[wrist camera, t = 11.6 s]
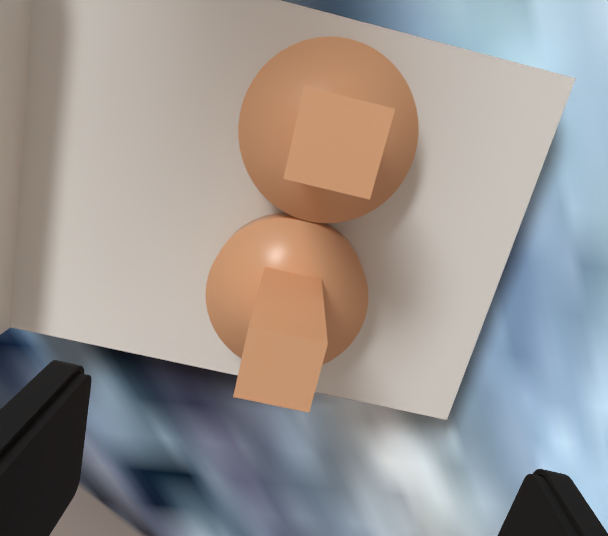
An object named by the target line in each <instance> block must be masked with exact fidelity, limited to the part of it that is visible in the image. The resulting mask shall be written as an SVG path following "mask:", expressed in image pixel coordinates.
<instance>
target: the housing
mask: <svg viewBox="0 0 608 536" xmlns="http://www.w3.org/2000/svg"><path fill="white" fill-rule="evenodd" d="M575 79H576V78H572V77H568V76H565V75H561V74H557V73H553V72H550V71H546V70H542V69H538V68H535V67H531V66H527V65H523V64H519V63H516V62H512V61H508V60H504V59H501V58H497V57H493V56H489V55H485V54H482V53H478V52H474V51H470V50H467V49H463V48H459V47H455V46H452V45H448V44H444V43H440V42H436V41H433V40H429V39H425V38H421V37H418V36H414V35H410V34H406V33H402V32H399V31H395V30H391V29H387V28H384V27H380V26H376V25H372V24H368V23H365V22H361V21H357V20H353V19H350V18H346V17H342V16H338V15H335V14H331V13H327V12H323V11H319V10H316V9H312V8H308V7H304V6H301V5H297V4H293V3H289V2H285V1H282V0H0V334H2V333H3V332H5V331H6V330H7V329H9V328H10V327H12V328H17V329H22V330H26V331H31V332H36V333H40V334H45V335H50V336H55V337H59V338H64V339H69V340H73V341H78V342H83V343H87V344H92V345H97V346H102V347H106V348H111V349H116V350H120V351H125V352H130V353H134V354H139V355H144V356H149V357H153V358H158V359H163V360H167V361H172V362H177V363H181V364H186V365H191V366H196V367H200V368H205V369H210V370H214V371H219V372H224V373H228V374H233V375H238V373H239V368H240V364H241V358H240V357H238V356H237V355H236V354H234V353H233V352H232V351H231V350H230V349H229V348H228V347H227V346H226V345H225V344H224V343H223V342H222V341H221V339H220V338H219V336H218V335H217V333H216V332H215V330H214V328H213V326H212V324H211V322H210V318H209V315H208V312H207V306H206V283H207V279H208V275H209V271H210V269H211V267H212V264H213V262H214V260H215V259H216V257H217V255H218V254H219V252H220V250H221V249H222V247H223V246H224V244H225V243H226V242H227V240H228V239H229V238H230V237H231V236H232V235H233V234H234V233H235V232H236V231H237V230H238V229H240V228H241V227H242V226H244V225H245V224H247V223H249V222H251V221H253V220H254V219H257V218H260V217H262V216H265V215H270V214H274V213H284V212H285V213H287V214H289V215H291V216H294V217H296V218H299V219H302V220H305V221H310V222H316V223H328V224H330V225H331V226H333V227H334V228H335V229H337V230H338V231H339V232H340V233H342V234H343V236H344V237H345V238H346V239H347V240H348V241H349V242H350V244H351V245H352V247H353V248H354V250H355V252H356V253H357V255H358V257H359V260H360V263H361V265H362V268H363V271H364V274H365V277H366V281H367V286H368V308H367V313H366V317H365V320H364V323H363V325H362V327H361V329H360V331H359V333H358V335H357V336H356V338H355V339H354V341H353V342H352V343H351V344H350V345H349V346H348V348H347V349H346V350H345V351H343V352H342V353H341V354H340V355H339V356H337V357H336V358H334V359H333V360H331V361H329V362H328V363H325V364H323V365H322V367H321V371H320V375H319V378H318V382H317V386H316V389H315V392H318V393H323V394H327V395H332V396H337V397H341V398H346V399H351V400H355V401H360V402H365V403H370V404H374V405H379V406H384V407H388V408H393V409H398V410H402V411H407V412H412V413H417V414H421V415H426V416H431V417H435V418H440V419H445V420H447V418H448V416H449V413H450V410H451V408H452V405H453V402H454V400H455V397H456V394H457V392H458V389H459V386H460V384H461V381H462V378H463V376H464V373H465V370H466V368H467V365H468V363H469V360H470V357H471V355H472V352H473V349H474V347H475V344H476V341H477V339H478V336H479V333H480V331H481V328H482V325H483V323H484V320H485V317H486V315H487V312H488V309H489V307H490V304H491V302H492V299H493V296H494V294H495V291H496V288H497V286H498V283H499V280H500V278H501V275H502V272H503V270H504V267H505V264H506V262H507V259H508V256H509V254H510V251H511V248H512V246H513V243H514V241H515V238H516V235H517V233H518V230H519V227H520V225H521V222H522V219H523V217H524V214H525V211H526V209H527V206H528V203H529V201H530V198H531V195H532V193H533V190H534V187H535V185H536V182H537V180H538V177H539V174H540V172H541V169H542V166H543V164H544V161H545V158H546V156H547V153H548V150H549V148H550V145H551V142H552V140H553V137H554V134H555V132H556V129H557V126H558V124H559V121H560V119H561V116H562V113H563V111H564V108H565V105H566V103H567V100H568V97H569V95H570V92H571V89H572V87H573V84H574V81H575Z"/></svg>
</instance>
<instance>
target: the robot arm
mask: <svg viewBox="0 0 608 536" xmlns="http://www.w3.org/2000/svg"><path fill="white" fill-rule="evenodd" d="M90 388H91V376H90V375H86V374H84V368H83V367H82V366H79V365H75V364H70V363H66V362H62V361H57V360H54V361H52V362H50V363H49V364H48V365H47V366H46V367H45V368H44V369H43V370H42V371H41V372H40V373H39V374H38V375H37V376H36V377H35V378H33V379H32V380H31V381H30V382H29V383H28V384H27V385H26V386H25V387H24V388H23V389H22V390H21V391H20V392H19V393H18V394H17V395H16V396H14V397H13V398H12V399H11V400H10V401H9V402H8V403H7V404H6V405H5V406H4V407H3V408H2V409H1V410H0V536H49V535H50V533H51V532H52V530H53V529H54V527H55V525H56V524H57V522H58V521H59V519H60V518H61V516H62V514H63V513H64V511H65V510H66V508H67V506H68V505H69V503H70V502H71V500H72V498H73V497H74V495H75V493H76V490H77V488H78V485H79V481H80V474H81V466H82V457H83V448H84V440H85V431H86V423H87V414H88V405H89V397H90ZM498 536H608V533H607V532H606V530H605V529H604V527H603V526H602V524H601V523H600V521H599V520H598V518H597V517H596V515H595V514H594V512H593V511H592V509H591V508H590V506H589V505H588V503H587V502H586V500H585V499H584V497H583V496H582V494H581V493H580V491H579V490H578V488H577V487H576V486H575V484H574V483H573V481H572V480H571V478H570V477H569V476H567V475H565V474H561V473H556V472H552V471H547V470H543V469H537V470H536V471H535V472H534V473H533V474H528V475H527V476H526V477H525V479H524V480H523V483H522V485H521V487H520V489H519V491H518V493H517V495H516V498H515V500H514V502H513V504H512V506H511V508H510V510H509V513H508V515H507V517H506V519H505V521H504V523H503V525H502V527H501V530H500V532H499V534H498Z"/></svg>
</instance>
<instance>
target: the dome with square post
mask: <svg viewBox="0 0 608 536" xmlns="http://www.w3.org/2000/svg"><path fill="white" fill-rule="evenodd" d="M206 306H207V312H208V315H209V318H210V322H211V324H212V326H213V328H214V330H215V332H216V333H217V335H218V336H219V338H220V339H221V341H222V342H223V343H224V344H225V345H226V346H227V347H228V348H229V349H230V350H231V351H232V352H233V353H234V354H236V355H237V356H238V357H240V358H241V364H240V368H239V373H238V377H237V382H236V387H235V391H234V396H233V397H236V398H241V399H246V400H251V401H255V402H260V403H265V404H270V405H275V406H280V407H285V408H290V409H295V410H299V411H304V412H309V411H310V408H311V404H312V400H313V397H314V393H315V389H316V386H317V382H318V378H319V375H320V371H321V367H322V365H323V364H325V363H328V362H329V361H331V360H333V359H334V358H336V357H337V356H339V355H340V354H341V353H342V352H343V351H345V350H346V349H347V348H348V346H349V345H350V344H351V343H352V342H353V341H354V339H355V338H356V336H357V335H358V333H359V331H360V329H361V327H362V325H363V323H364V320H365V317H366V313H367V308H368V286H367V281H366V277H365V274H364V271H363V268H362V265H361V263H360V260H359V257H358V255H357V253H356V252H355V250H354V248H353V247H352V245H351V244H350V242H349V241H348V240H347V239H346V238H345V237H344V236H343V234H342V233H340V232H339V231H338V230H337V229H335V228H334V227H333V226H331V225H330V224H328V223H316V222H310V221H305V220H302V219H299V218H296V217H294V216H291V215H289V214H287V213H285V212H284V213H274V214H270V215H265V216H262V217H260V218H257V219H254V220H253V221H251V222H249V223H247V224H245V225H244V226H242V227H241V228H240V229H238V230H237V231H236V232H235V233H234V234H233V235H232V236H231V237H230V238H229V239H228V240H227V242H226V243H225V244H224V246H223V247H222V249H221V250H220V252H219V254H218V255H217V257H216V259H215V260H214V262H213V264H212V267H211V269H210V271H209V275H208V279H207V283H206Z"/></svg>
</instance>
